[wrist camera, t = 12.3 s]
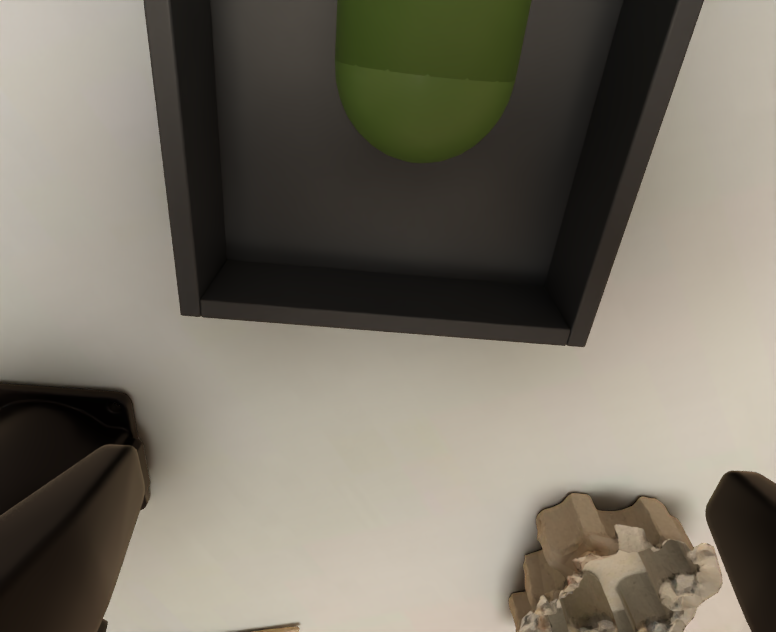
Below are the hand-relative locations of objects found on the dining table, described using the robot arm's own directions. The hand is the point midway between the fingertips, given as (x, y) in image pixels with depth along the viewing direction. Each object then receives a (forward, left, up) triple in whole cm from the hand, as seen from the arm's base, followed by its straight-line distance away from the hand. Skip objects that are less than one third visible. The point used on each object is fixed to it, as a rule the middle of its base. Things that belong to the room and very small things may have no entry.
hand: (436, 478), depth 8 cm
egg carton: (+11, -17, -11) cm, 23 cm away
